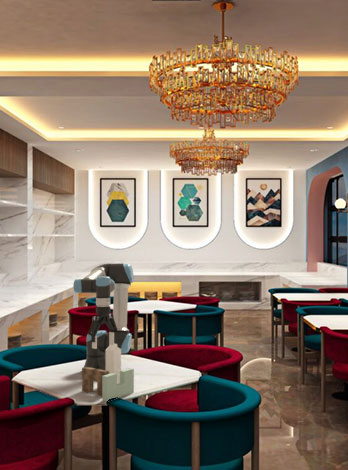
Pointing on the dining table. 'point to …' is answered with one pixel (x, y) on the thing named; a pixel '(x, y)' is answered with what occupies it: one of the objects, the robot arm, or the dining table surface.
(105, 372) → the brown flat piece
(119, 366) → the milk
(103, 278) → the robot arm
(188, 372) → the dining table surface
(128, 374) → the slot stand
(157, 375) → the dining table surface
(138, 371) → the dining table surface
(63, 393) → the dining table surface
